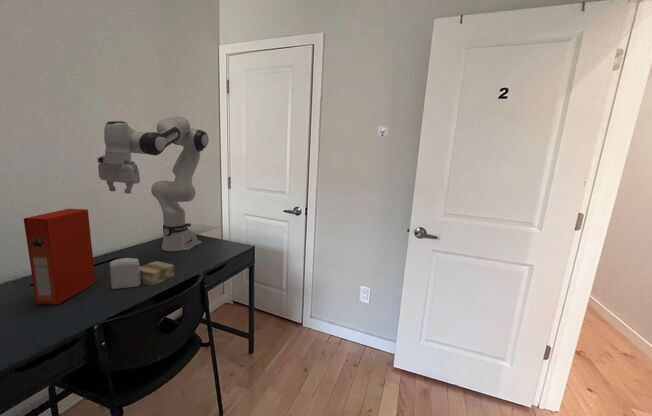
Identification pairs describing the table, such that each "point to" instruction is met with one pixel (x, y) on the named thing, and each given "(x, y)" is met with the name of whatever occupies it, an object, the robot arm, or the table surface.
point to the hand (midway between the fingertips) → (120, 192)
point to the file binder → (60, 254)
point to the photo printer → (125, 273)
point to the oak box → (156, 272)
